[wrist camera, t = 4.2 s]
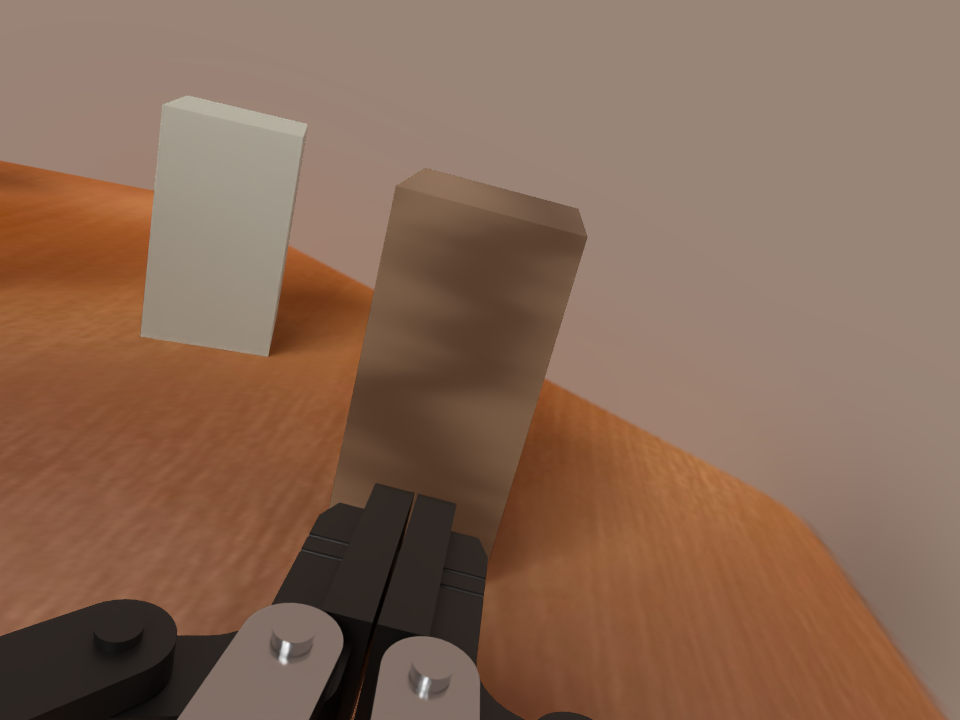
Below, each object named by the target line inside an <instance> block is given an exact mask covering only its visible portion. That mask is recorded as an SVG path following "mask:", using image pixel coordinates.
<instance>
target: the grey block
mask: <svg viewBox="0 0 960 720" xmlns="http://www.w3.org/2000/svg"><path fill="white" fill-rule="evenodd" d="M307 127H308V124H305V123H301V122H297V121H293V120H289V119H284V118H280V117H276V116H272V115H267V114H263V113H259V112H255V111H251V110H246V109H242V108H238V107H234V106H230V105H226V104H221V103H217V102H213V101H209V100H204V99H200V98H196V97H192V96H185V97H182V98H179V99H177V100H174V101H171V102H168V103H166V104H163V105H162V115H161V125H160V136H159V147H158V158H157V167H156V168H157V169H156V178H155V189H154V199H153V210H152V220H151V231H150V241H149V252H148V262H147V273H146V283H145V294H144V304H143V315H142V325H141V336H140V337H146V338H152V339H159V340H165V341H171V342H178V343H184V344H190V345H197V346H203V347H209V348H216V349H222V350H228V351H235V352H241V353H247V354H254V355H260V356H266V357H268V355H269V350H270V346H271V341H272V337H273V332H274V327H275V323H276V318H277V312H278V306H279V300H280V294H281V287H282V281H283V275H284V269H285V263H286V257H287V250H288V244H289V238H290V231H291V226H292V218H293V213H294V207H295V201H296V194H297V188H298V182H299V176H300V170H301V164H302V158H303V151H304V145H305V138H306V133H307Z"/></svg>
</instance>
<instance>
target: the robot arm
mask: <svg viewBox="0 0 960 720" xmlns="http://www.w3.org/2000/svg"><path fill="white" fill-rule="evenodd" d="M414 494H415V493H414V492H410V491H406V490H402V489H398V488H395V487H391V486H387V485H383V484H379V483H375V485H374V487H373V490H372V492H371V494H370V497H369V499H368V501H367V503H366V506H365V508H364V509H363V508H359V507H355V506H352V505H348V504H344V503H340V502H339V503H337V504H336V505H334V506H333V507H331V508H330V509H328V510H326V511H325V512H323V513H322V514H320V515H319V517H318V518H317V520H316V522H315V524H314V526H313V528H312V530H311V532H310V534H309V537H307V539H306V541H305V543H304V545H303V547H302V549H301V552H299V554H298V556H297V558H296V560H295V562H294V563H293V565H292V567H291V569H290V571H289V573H288V575H287V577H286V578H285V580H284V582H283V584H282V586H281V588H280V590H279V592H278V593H277V595H276V597H275V599H274V601H273V603H272V605H271V606H268V607H265V608H262V609H260V610H259V611H257V612H255V613H254V614H253V615H251V616H250V617H249V618H248V619H247V620H246V622H245V623H244V624H243V626H242V627H241V629H240V630H239V631H236V632H232V633H228V634H222V635H210V636H177V628H176V625H175V622H174V620H173V619H172V617H171V616H170V615H169V614H168V613H167V612H166V611H165V610H163V609H162V608H160V607H158V606H156V605H154V604H151V603H148V602H145V601H139V600H128V599H123V600H112V601H106V602H102V603H98V604H95V605H92V606H89V607H86V608H83V609H80V610H77V611H74V612H71V613H68V614H65V615H62V616H59V617H56V618H53V619H50V620H47V621H44V622H41V623H38V624H35V625H32V626H29V627H26V628H23V629H20V630H17V631H14V632H11V633H9V634H6V635H3V636H0V720H351V718H352V715H353V712H354V709H355V705H356V702H357V699H358V696H359V692H360V689H361V686H362V689H361V693H360V697H359V701H358V705H357V710H356V714H355V718H354V720H524V719H523V718H521V717H519V716H517V715H515V714H514V713H512V712H510V711H509V710H507V709H506V708H504V707H503V706H502V705H500V704H499V703H498V702H497V701H496V700H495V699H494V698H493V697H492V696H491V695H490V694H489V693H488V692H487V690H486V689H485V688H484V686H483V684H482V682H481V681H480V678H479V673H478V670H477V666H476V661H477V651H478V642H479V633H480V625H481V616H482V607H483V596H484V590H485V579H486V572H487V564H488V557H487V555H486V553H485V550H484V548H483V546H482V544H481V542H480V540H479V538H477V537H473V536H469V535H465V534H461V533H457V532H453V531H451V529H452V524H453V519H454V515H455V510H456V505H457V503H453V502H450V501H446V500H442V499H438V498H434V497H430V496H426V495H422V494H418V495H417V498H416V501H415V505H414V508H413V511H412V514H411V518H410V521H409V524H408V520H409V515H410V511H411V507H412V503H413V499H414ZM407 524H408V527H407ZM406 528H407V530H406ZM405 532H406V534H405ZM404 536H405V537H404ZM364 676H365V677H364ZM363 679H364V681H363ZM362 682H363V685H362ZM538 720H592V719H590V718H588V717H586V716H583V715H580V714H576V713H572V712H554V713H550V714H547V715H545V716H543V717H541V718H539V719H538Z"/></svg>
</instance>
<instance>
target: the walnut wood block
mask: <svg viewBox="0 0 960 720" xmlns="http://www.w3.org/2000/svg"><path fill="white" fill-rule="evenodd" d="M586 240H587V234H586V231H585V228H584V225H583V222H582V219H581V216H580V213H579V210H578V209H577V208H573V207H569V206H565V205H562V204H558V203H554V202H551V201H547V200H543V199H539V198H536V197H532V196H528V195H524V194H520V193H517V192H513V191H509V190H506V189H502V188H498V187H495V186H491V185H487V184H484V183H480V182H476V181H472V180H469V179H464V178H461V177H457V176H454V175H450V174H446V173H442V172H438V171H435V170H431V169H427V168H425V169H423V170H421V171H420V172H418V173H416V174H414V175H413V176H411V177H410V178H408V179H406V180H405V181H403V182H401V183H400V184H398V185H397V186H396V188H395V193H394V198H393V203H392V208H391V213H390V217H389V222H388V227H387V232H386V236H385V241H384V246H383V251H382V256H381V260H380V265H379V270H378V275H377V280H376V285H375V289H374V294H373V299H372V304H371V308H370V313H369V318H368V323H367V328H366V332H365V337H364V342H363V347H362V352H361V356H360V361H359V366H358V371H357V376H356V380H355V385H354V390H353V395H352V400H351V404H350V409H349V414H348V419H347V424H346V428H345V433H344V438H343V443H342V448H341V452H340V457H339V462H338V467H337V472H336V476H335V481H334V486H333V491H332V496H331V500H330V505H329V509H330V508H331V507H333V506H334V505H336V504H337V503H339V502H340V503H344V504H348V505H352V506H355V507H359V508H363V509H364V508H365V506H366V503H367V501H368V499H369V497H370V494H371V492H372V490H373V487H374V485H375V483H379V484H383V485H387V486H391V487H395V488H398V489H402V490H406V491H410V492H414V493H415V494H414V499H413V503H412V507H411V511H410V515H409V520H408V524H409V521H410V518H411V514H412V511H413V508H414V505H415V501H416V498H417V495H418V494H422V495H426V496H430V497H434V498H438V499H442V500H446V501H450V502H453V503H457V505H456V510H455V515H454V519H453V524H452V529H451V531H453V532H457V533H461V534H465V535H469V536H473V537H477V538H479V540H480V542H481V544H482V546H483V548H484V550H485V553H486V555H487V557H488V561H489V558H490V555H491V552H492V548H493V545H494V542H495V539H496V535H497V532H498V529H499V525H500V522H501V519H502V516H503V512H504V509H505V506H506V502H507V499H508V496H509V493H510V489H511V486H512V483H513V479H514V476H515V473H516V470H517V466H518V463H519V460H520V456H521V453H522V450H523V447H524V443H525V440H526V437H527V434H528V430H529V427H530V424H531V420H532V417H533V414H534V411H535V407H536V404H537V401H538V397H539V394H540V391H541V388H542V384H543V381H544V378H545V374H546V371H547V368H548V365H549V361H550V358H551V355H552V351H553V348H554V345H555V341H556V338H557V335H558V332H559V328H560V325H561V322H562V319H563V315H564V312H565V309H566V306H567V302H568V299H569V296H570V292H571V289H572V286H573V283H574V279H575V276H576V273H577V269H578V266H579V263H580V259H581V256H582V253H583V250H584V246H585V243H586ZM408 524H407V527H408ZM406 530H407V528H406ZM405 534H406V532H405ZM404 537H405V536H404ZM487 565H488V564H487Z"/></svg>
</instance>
